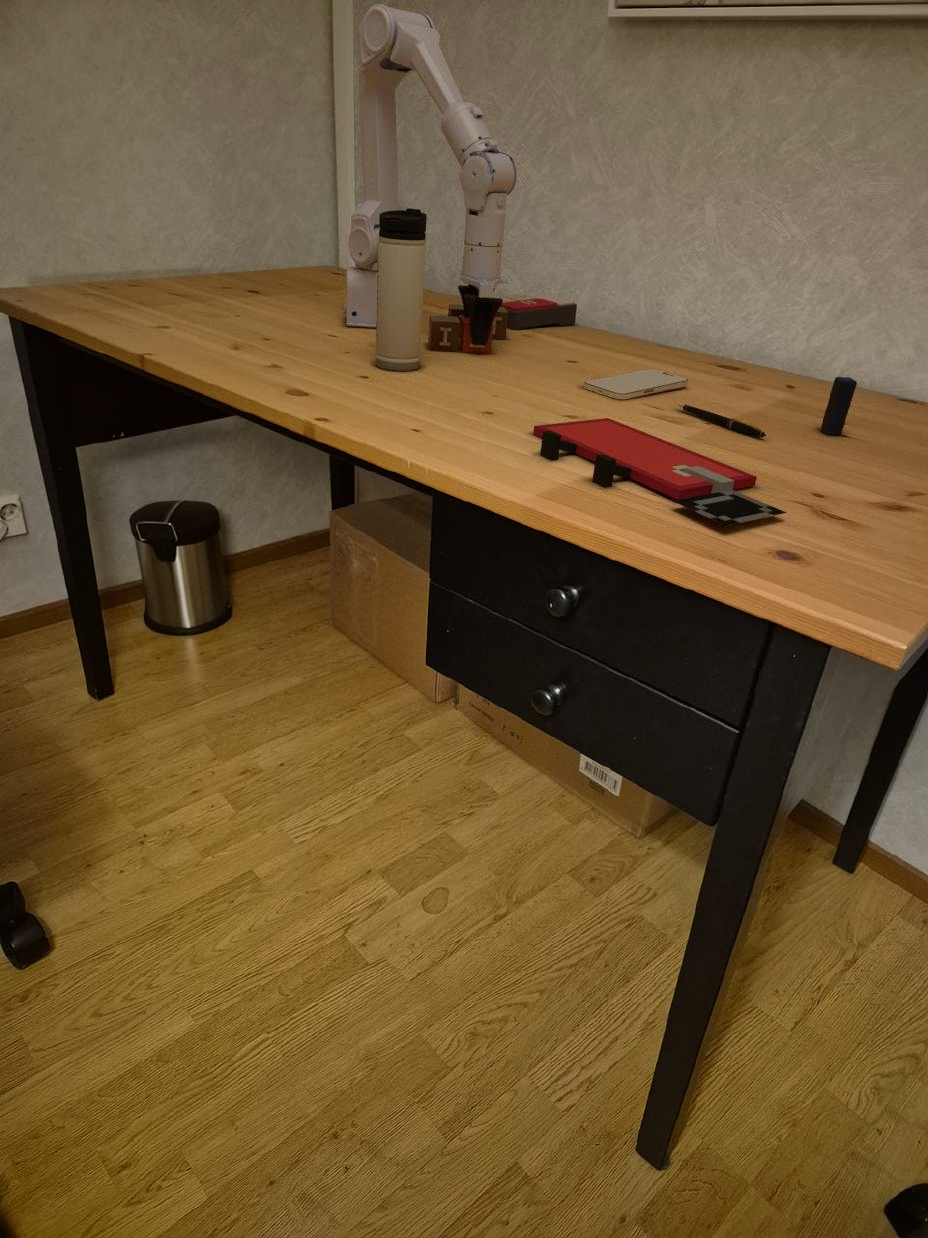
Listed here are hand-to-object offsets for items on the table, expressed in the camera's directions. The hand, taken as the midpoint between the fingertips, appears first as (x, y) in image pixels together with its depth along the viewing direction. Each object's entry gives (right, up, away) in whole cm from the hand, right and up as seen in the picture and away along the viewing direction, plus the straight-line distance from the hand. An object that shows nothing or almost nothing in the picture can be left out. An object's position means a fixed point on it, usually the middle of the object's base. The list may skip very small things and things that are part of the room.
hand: (476, 339), depth 134 cm
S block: (0, -1, +1) cm, 2 cm away
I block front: (-5, -1, 0) cm, 5 cm away
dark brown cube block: (-2, +4, +10) cm, 11 cm away
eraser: (+44, -20, -26) cm, 55 cm away
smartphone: (+22, -11, -13) cm, 28 cm away
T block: (+3, +4, +11) cm, 12 cm away
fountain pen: (+30, -19, -26) cm, 44 cm away
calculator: (+9, +11, +25) cm, 29 cm away
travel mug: (-11, -8, -12) cm, 18 cm away
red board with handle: (+17, -29, -44) cm, 55 cm away
